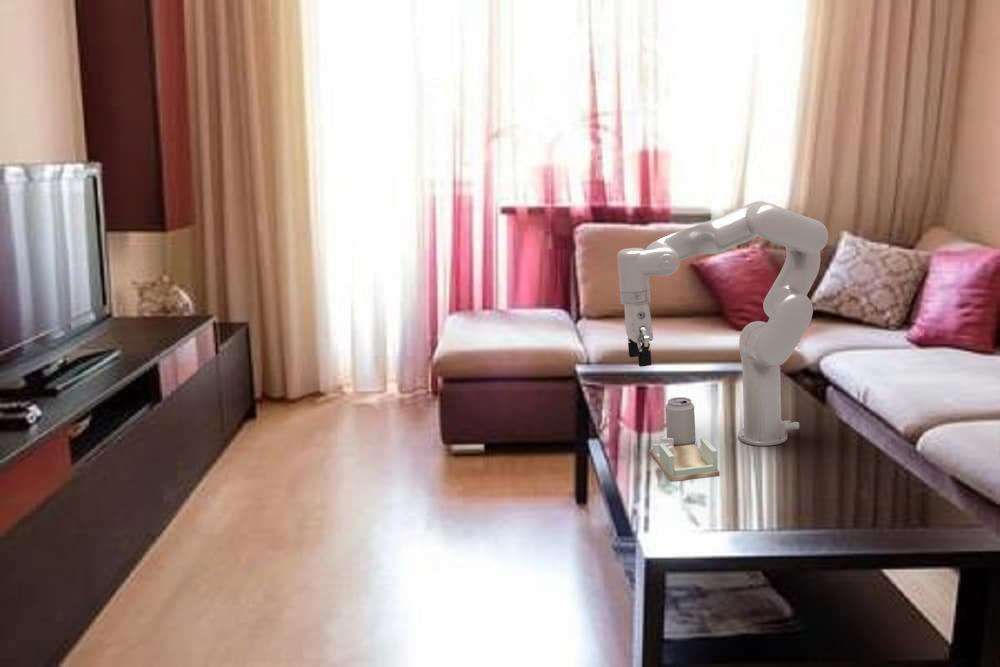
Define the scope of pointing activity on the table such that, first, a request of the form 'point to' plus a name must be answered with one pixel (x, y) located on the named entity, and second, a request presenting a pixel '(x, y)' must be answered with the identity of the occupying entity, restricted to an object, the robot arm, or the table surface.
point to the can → (680, 421)
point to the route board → (686, 462)
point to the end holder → (706, 454)
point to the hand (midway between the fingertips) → (640, 361)
